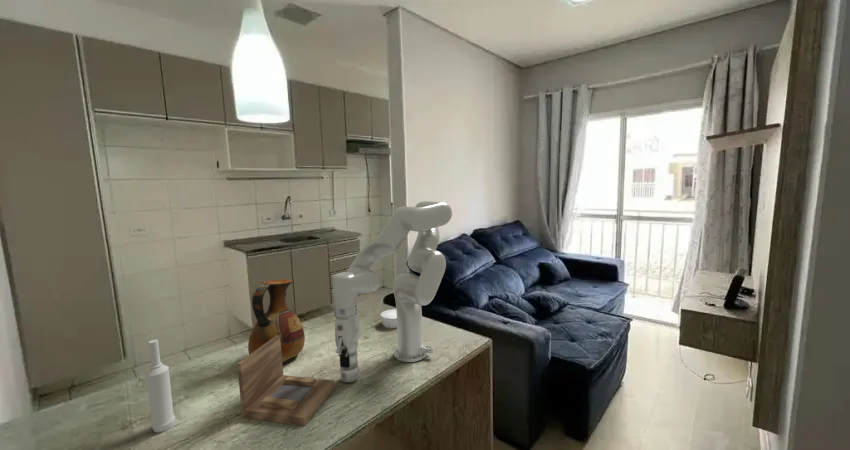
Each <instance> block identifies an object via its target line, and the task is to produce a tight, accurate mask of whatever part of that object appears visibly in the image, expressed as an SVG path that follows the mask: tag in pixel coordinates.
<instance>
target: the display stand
mask: <svg viewBox="0 0 850 450" xmlns="http://www.w3.org/2000/svg"><path fill="white" fill-rule="evenodd" d="M283 365H284V364H283V362H282V353H281V341H280V335H276V336H275V337H274V338H272V339H271V340H269V341H268V342H267V343H265V344H264V345H262V346H261V347H260V348H258V349H257V350H255V351H254V352H252V353H251V354H250V355H249V354H248V355H247V356H245V357H244V358H243V359H241V360H240V361H238V362H237V363H236V367H237V368H236V369H237V377H238V378H237V379H238V386H239V387H238V388H239V398H240V408H241V409H240V415H241V418H243V419H251V420H258V421H265V422H272V423H273V422H274V423H281V424H286V425H296V426H302V427H306V426H307V424H308V423H309V421H311V419H312V418H313V416H315V414H316V412H317V411H318V410H319V408H320V407H322V405H323V404H324V402H325V401H326V400H327V398H328V397H329V396H330V395H331V394H332V392H333V391H334V389H335V388H336V383H335V380H334V379H333V380H332V379H324V378H313V377H305V376H297V375H296V376H294V375H285V374H284V368H283V367H284V366H283Z"/></svg>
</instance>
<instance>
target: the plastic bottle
mask: <svg viewBox="0 0 850 450" xmlns="http://www.w3.org/2000/svg"><path fill="white" fill-rule="evenodd" d="M358 341H359V339H358V336H357V334H355V337H354V345H353V346H352V347H351V348H349V350H348V355H349V358H350V367H349V368H345V367H340V366H339V367H340V368H339V371H338V372H339V373H338V376H339V379H340V381H342V382H343V383H347V384H349V383H350V384H351V383H353V382H355V381H357V380H358V378H359V376H360V372H361V371H360V366H359V362H358V344H359V343H358ZM343 346H344V344H343ZM342 351H346V349H343V348H342Z"/></svg>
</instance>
